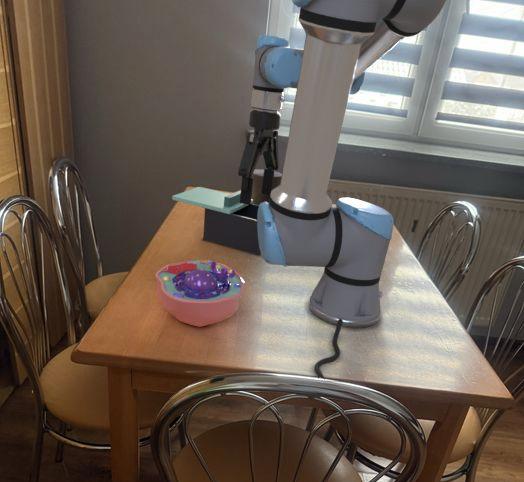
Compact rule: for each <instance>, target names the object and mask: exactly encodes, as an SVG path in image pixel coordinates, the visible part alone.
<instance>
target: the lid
mask: <svg viewBox="0 0 524 482" xmlns="http://www.w3.org/2000/svg"><path fill="white" fill-rule="evenodd" d="M240 195H241V189H239V190H237V191H234V192H233V193H227V192H223V191H220V190H215V189H211V188H206V187H203V186H197V187H193V188H192V189H189V190H185V191H183V192H180V193H176V194H174V195H172V196H171V200H172V201H176V202H179V203H183V204H188V205H191V206H194V207H195V206H196V207H199V208H202V209H203V208H204V209H205V208H207V209H211V210H215V211H219V212H223V213H227V214H231V213H233V212H235V211H237V210H240V209H242V208H244V207H246V206H248V205H247V204H243V203H240ZM252 203H253V199H251V204H252Z"/></svg>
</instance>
